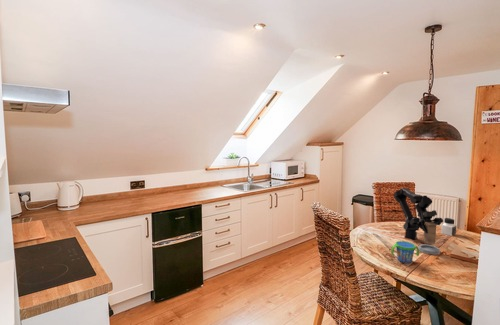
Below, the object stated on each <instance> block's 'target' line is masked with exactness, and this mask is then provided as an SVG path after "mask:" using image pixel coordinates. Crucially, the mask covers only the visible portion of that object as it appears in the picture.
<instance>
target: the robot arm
mask: <svg viewBox="0 0 500 325" xmlns="http://www.w3.org/2000/svg"><path fill="white" fill-rule="evenodd" d="M393 198H394V200H395V201H396V202H397V203H399V205H400V208H401V210H402V212H403V214H404V217H405V222H404V224H403V226H402V227H403V229H404V230H405V234H404V238H405V239H410V240H413V241H414V240H416V239H417V237H418V232H417V231H419V229H421V230H422V231H423V233H424V232H425V233H426V234H427V233H428V232H427V229H426V227H425V222H433V223H435V224H436V226H440V225H442V223H444V219H443V218H442V217H436V216H437V215H438V213H437V210H435V209H434V210H431V211H429V210H428V208H430V207H429V206H431V205H432V203H433V199H432V198H430V197H429V196H427V195H423V194H422V195H421V194H416V193H414V192H413V191H412V190H410V189H409V188H407V187H406V188H405V187H402V188H400V189H398V190H396V191H395V192H394V193H393ZM407 199H409V201H410V202H411V204H415V205H414V210H416V211H417V212H416V213H417V216H414V215H413V213H412V211H411V209H410V206H409V204H408V202H407Z"/></svg>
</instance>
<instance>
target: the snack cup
mask: <svg viewBox="0 0 500 325" xmlns="http://www.w3.org/2000/svg"><path fill="white" fill-rule="evenodd" d="M418 247H419V246H416V245H415V244H414V243H412V242H409V241H403V240H402V241H401V240H400V241H399V240H398V241H395V243H394V244H393V246H392V247H391V250H390V252H391V256H394V255H395V254H394V251H395V249H396V256H397V260H398V262H402V263H404V264H408V263H410V264H411V263H412V262H413V258H414V254H415V255H416V256H417V257H418V256H420V251H419V249H418ZM415 250H416V253H415Z"/></svg>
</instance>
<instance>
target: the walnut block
mask: <svg viewBox="0 0 500 325" xmlns="http://www.w3.org/2000/svg"><path fill="white" fill-rule="evenodd" d="M425 227H426V229H427V232H428V233H427V234H426V233H425V232H424V231H423V242H424V243H425V244H427V245H435V244H436V236H437V235H436V234H437V225H436V224H435V223H433V222H425Z"/></svg>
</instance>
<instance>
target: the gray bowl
mask: <svg viewBox="0 0 500 325" xmlns="http://www.w3.org/2000/svg"><path fill="white" fill-rule="evenodd" d="M417 247H418V249H419V252H420V253H423V254H426V255H431V256H432V255H433V256H436V255H438V256H439V255H440V254H441V249H440V248H439V247H437V246H435V245H433V244H427V243H424V244H423V243H422V244H419V245H418V246H417Z"/></svg>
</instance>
